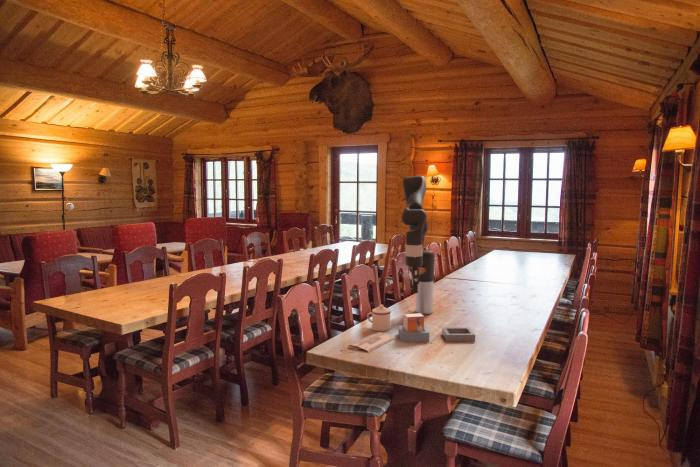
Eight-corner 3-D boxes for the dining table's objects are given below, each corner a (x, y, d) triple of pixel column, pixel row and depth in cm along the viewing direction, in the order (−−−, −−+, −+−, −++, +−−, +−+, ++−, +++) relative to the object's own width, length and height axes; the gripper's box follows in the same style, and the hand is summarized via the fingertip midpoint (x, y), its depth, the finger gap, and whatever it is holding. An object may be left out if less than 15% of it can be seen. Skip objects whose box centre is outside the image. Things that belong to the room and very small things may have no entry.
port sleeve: (398, 334, 217) (398, 325, 216) (425, 333, 217) (425, 325, 216) (400, 341, 206) (400, 332, 206) (429, 341, 206) (429, 332, 206)
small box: (406, 340, 208) (407, 317, 207) (403, 336, 214) (403, 313, 212) (424, 339, 210) (424, 316, 208) (420, 335, 215) (420, 312, 214)
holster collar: (442, 333, 217) (442, 327, 216) (469, 333, 216) (469, 327, 216) (446, 341, 206) (446, 334, 206) (475, 341, 206) (475, 334, 206)
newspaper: (373, 334, 218) (374, 329, 218) (396, 342, 211) (396, 337, 211) (343, 348, 200) (344, 342, 200) (367, 357, 193) (367, 351, 193)
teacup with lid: (394, 327, 226) (394, 303, 225) (385, 332, 219) (385, 308, 217) (372, 324, 233) (371, 301, 231) (363, 329, 225) (362, 305, 224)
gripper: (403, 252, 214) (403, 287, 216) (407, 257, 200) (407, 294, 202) (420, 252, 214) (420, 287, 216) (424, 257, 200) (424, 294, 202)
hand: (413, 290), depth 209 cm, fingers open, 8 cm apart
